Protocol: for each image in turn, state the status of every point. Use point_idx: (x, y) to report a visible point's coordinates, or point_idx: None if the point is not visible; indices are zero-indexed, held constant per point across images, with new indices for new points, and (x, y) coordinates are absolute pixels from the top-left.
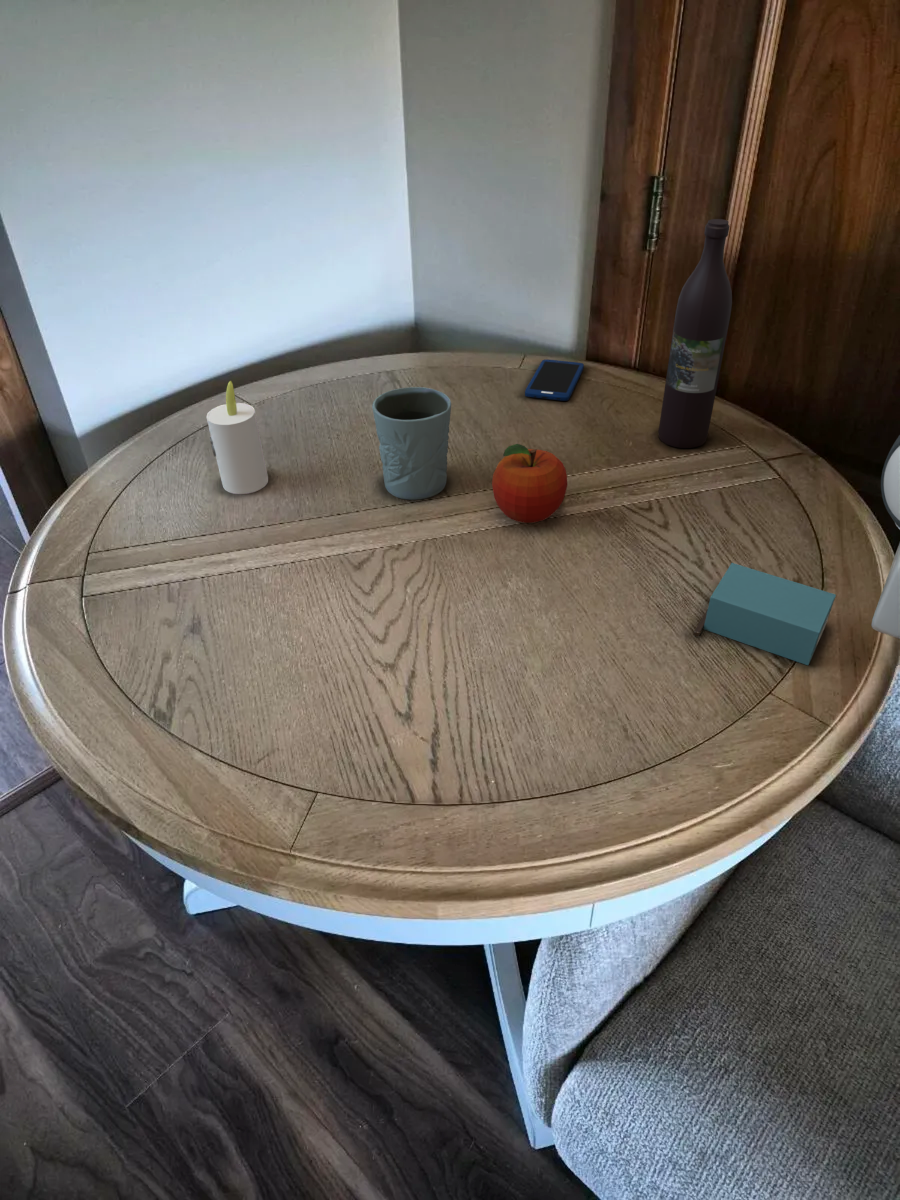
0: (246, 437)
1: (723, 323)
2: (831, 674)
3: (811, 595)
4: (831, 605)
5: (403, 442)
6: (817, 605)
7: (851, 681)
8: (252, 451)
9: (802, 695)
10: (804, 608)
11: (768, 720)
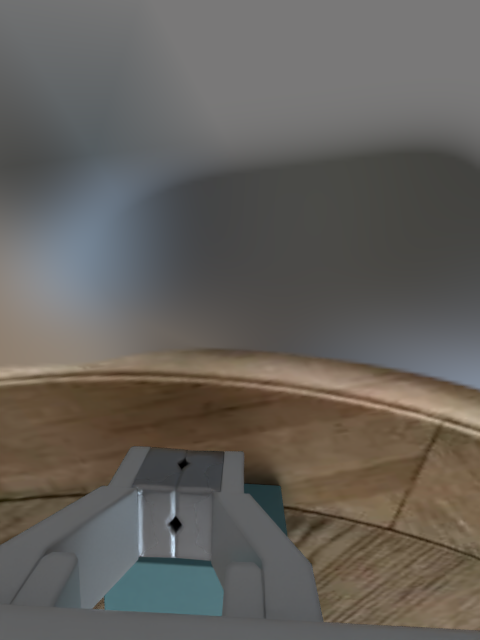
0: None
1: None
2: (284, 443)
3: (141, 607)
4: (157, 562)
5: None
6: (177, 591)
7: (288, 407)
8: None
9: (372, 479)
10: (207, 614)
11: (466, 518)
